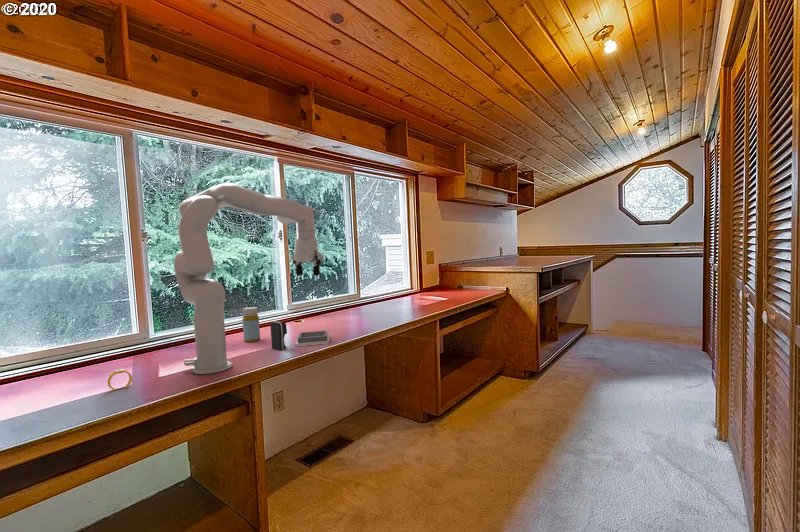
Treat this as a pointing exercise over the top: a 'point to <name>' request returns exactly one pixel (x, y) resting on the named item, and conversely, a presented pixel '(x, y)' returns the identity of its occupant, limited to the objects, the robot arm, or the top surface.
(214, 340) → the robot arm
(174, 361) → the top surface
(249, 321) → the bottle
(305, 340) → the dock
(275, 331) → the battery
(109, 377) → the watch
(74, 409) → the top surface
